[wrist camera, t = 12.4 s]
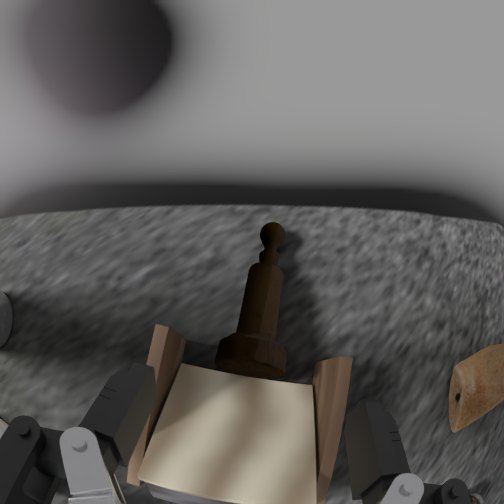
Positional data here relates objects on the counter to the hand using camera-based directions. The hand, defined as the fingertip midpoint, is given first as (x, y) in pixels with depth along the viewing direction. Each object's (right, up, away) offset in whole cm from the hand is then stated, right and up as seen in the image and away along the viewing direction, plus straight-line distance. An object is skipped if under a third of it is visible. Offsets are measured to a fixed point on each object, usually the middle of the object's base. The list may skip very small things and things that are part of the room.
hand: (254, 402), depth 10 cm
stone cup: (+33, -13, +19) cm, 40 cm away
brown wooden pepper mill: (0, -6, +16) cm, 17 cm away
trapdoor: (-2, -15, +14) cm, 21 cm away
